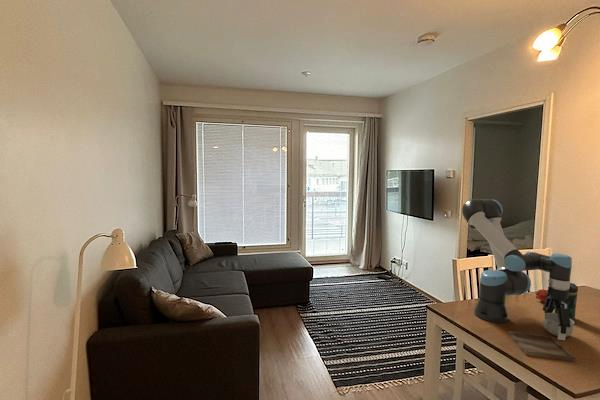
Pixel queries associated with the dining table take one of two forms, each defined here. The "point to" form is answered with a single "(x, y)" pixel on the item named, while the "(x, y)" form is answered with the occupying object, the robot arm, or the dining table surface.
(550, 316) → the teacup
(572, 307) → the coffee jar
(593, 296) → the dining table surface
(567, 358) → the shallow tray
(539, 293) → the dragon fruit
